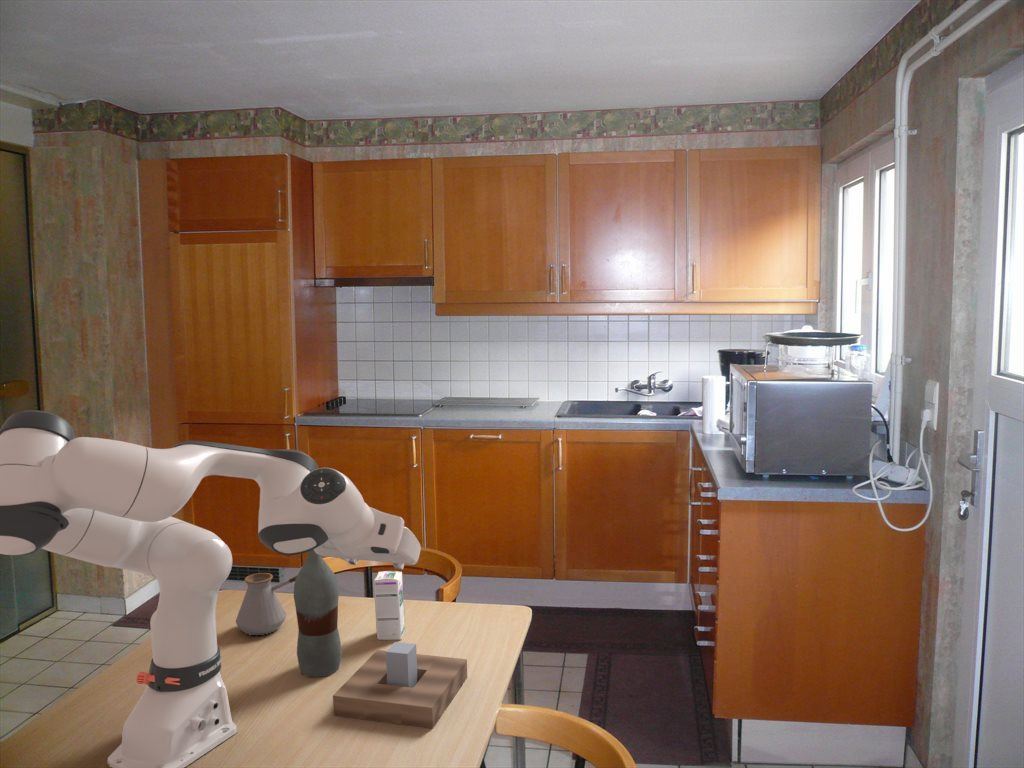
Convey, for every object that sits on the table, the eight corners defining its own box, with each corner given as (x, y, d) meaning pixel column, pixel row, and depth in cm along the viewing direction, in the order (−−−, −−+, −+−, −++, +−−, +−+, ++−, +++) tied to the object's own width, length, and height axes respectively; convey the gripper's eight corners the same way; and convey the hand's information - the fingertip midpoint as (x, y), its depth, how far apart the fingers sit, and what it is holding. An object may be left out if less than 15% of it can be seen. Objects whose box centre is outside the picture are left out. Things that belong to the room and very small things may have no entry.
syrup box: (401, 640, 189) (399, 579, 187) (376, 640, 189) (373, 579, 187) (405, 629, 194) (403, 570, 193) (380, 630, 194) (377, 570, 193)
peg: (409, 702, 160) (407, 653, 159) (387, 700, 161) (385, 651, 160) (417, 691, 164) (416, 644, 163) (397, 689, 166) (395, 641, 164)
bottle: (288, 673, 173) (280, 535, 170) (316, 655, 182) (309, 523, 178) (324, 682, 169) (317, 540, 166) (351, 663, 178) (344, 528, 174)
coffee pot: (231, 641, 190) (227, 578, 188) (242, 621, 202) (239, 561, 200) (324, 635, 192) (321, 573, 190) (331, 616, 203) (328, 557, 201)
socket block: (433, 728, 151) (432, 707, 150) (333, 715, 156) (332, 695, 156) (467, 677, 170) (466, 659, 169) (378, 667, 175) (377, 649, 175)
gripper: (294, 541, 147) (322, 573, 157) (402, 550, 142) (423, 583, 152) (306, 509, 150) (332, 543, 161) (411, 518, 145) (431, 552, 156)
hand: (377, 563), depth 157 cm, fingers open, 8 cm apart
